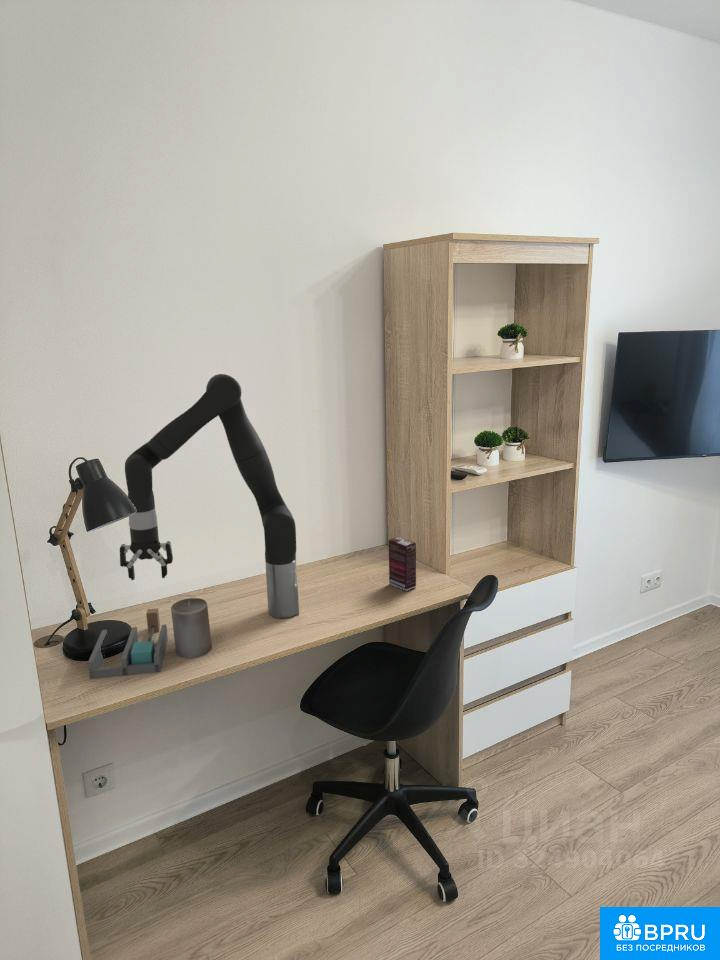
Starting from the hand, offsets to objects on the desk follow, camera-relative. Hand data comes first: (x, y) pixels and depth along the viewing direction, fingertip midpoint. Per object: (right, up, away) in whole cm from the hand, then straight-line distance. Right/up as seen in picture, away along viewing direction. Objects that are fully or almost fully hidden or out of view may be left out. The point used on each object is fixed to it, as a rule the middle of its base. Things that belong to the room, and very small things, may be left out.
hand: (148, 578), depth 199 cm
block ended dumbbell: (+2, -18, -6) cm, 19 cm away
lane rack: (-1, -20, -12) cm, 23 cm away
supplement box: (+75, -7, +32) cm, 82 cm away
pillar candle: (+15, -19, -8) cm, 26 cm away
